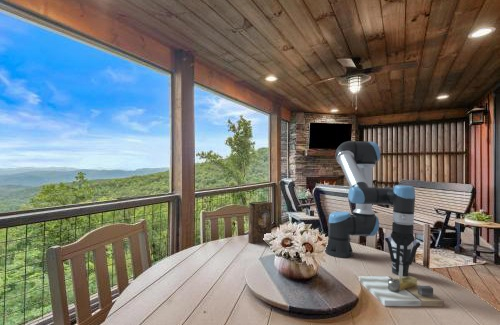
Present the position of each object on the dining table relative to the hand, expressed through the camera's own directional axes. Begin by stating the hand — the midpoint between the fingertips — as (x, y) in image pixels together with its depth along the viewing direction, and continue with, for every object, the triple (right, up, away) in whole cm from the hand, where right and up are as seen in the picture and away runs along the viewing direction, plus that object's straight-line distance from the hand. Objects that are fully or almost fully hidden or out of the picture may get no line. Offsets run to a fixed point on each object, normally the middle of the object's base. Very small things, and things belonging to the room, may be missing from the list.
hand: (400, 279), depth 107 cm
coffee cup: (+9, -4, +16) cm, 19 cm away
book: (-56, -3, +61) cm, 83 cm away
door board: (-3, -4, -3) cm, 6 cm away
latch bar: (-1, -1, -4) cm, 4 cm away
